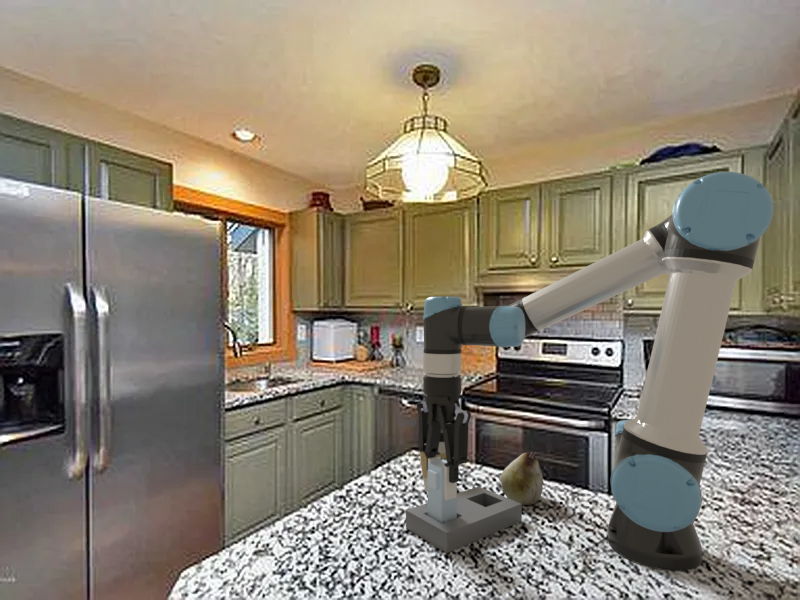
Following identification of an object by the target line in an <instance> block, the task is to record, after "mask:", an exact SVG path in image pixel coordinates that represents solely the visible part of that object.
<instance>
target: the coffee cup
mask: <svg viewBox="0 0 800 600" xmlns="http://www.w3.org/2000/svg"><path fill="white" fill-rule="evenodd" d="M416 438H417V439H419V431H418V432H417V436H416ZM424 445H426V444H424ZM438 452H439V453H440V454H439V455H436V456H439V457H441V460H442V459H443V460H446V461H447V458H446V451H445V443H444V435H443V429H441V434H440V441H439V448H438ZM419 457H420V458H419V459H420V464H421V465H420V467H421V475H422V479H423V488H424V490H425V491H426V492H428V486H427V457H426V456H425V453H424V452H420V451H419ZM453 458H454V457H453Z"/></svg>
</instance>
